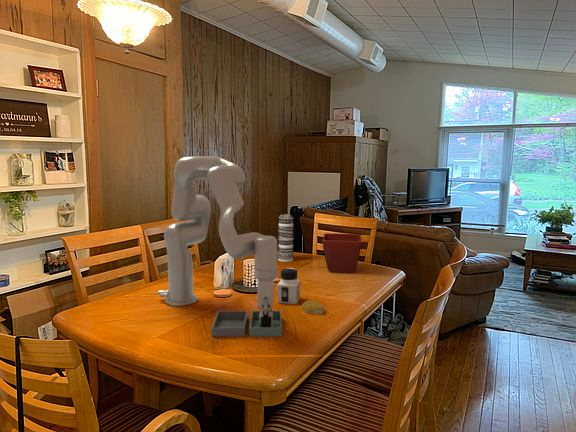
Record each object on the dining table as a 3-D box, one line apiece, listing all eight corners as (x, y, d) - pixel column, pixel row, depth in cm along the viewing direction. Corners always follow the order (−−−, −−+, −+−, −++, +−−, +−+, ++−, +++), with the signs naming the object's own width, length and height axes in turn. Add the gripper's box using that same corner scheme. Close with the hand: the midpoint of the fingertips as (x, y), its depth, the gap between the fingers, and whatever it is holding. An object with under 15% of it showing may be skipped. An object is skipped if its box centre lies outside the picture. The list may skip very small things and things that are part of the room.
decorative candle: (276, 261, 237) (276, 215, 233) (279, 257, 246) (279, 213, 242) (292, 262, 236) (292, 216, 232) (295, 258, 245) (295, 213, 241)
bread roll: (308, 317, 158) (308, 307, 158) (298, 309, 167) (298, 299, 166) (328, 314, 161) (328, 304, 161) (318, 306, 170) (318, 296, 169)
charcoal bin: (211, 338, 140) (211, 328, 139) (217, 320, 155) (217, 311, 154) (244, 338, 140) (244, 328, 140) (247, 320, 155) (247, 310, 154)
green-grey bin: (249, 338, 140) (249, 327, 140) (251, 320, 155) (251, 310, 154) (281, 338, 140) (281, 327, 140) (281, 320, 155) (281, 310, 155)
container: (296, 304, 171) (296, 272, 169) (277, 303, 173) (277, 271, 171) (300, 298, 179) (300, 267, 177) (281, 296, 180) (281, 266, 178)
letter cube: (259, 329, 145) (259, 316, 145) (259, 324, 150) (259, 311, 149) (272, 329, 145) (272, 316, 145) (272, 324, 150) (272, 311, 149)
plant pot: (323, 263, 232) (324, 232, 230) (360, 265, 230) (361, 233, 227) (321, 273, 214) (322, 240, 211) (361, 275, 211) (362, 241, 209)
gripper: (255, 266, 153) (256, 313, 156) (253, 280, 136) (254, 333, 139) (277, 266, 153) (277, 312, 156) (277, 280, 136) (277, 332, 139)
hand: (266, 322), depth 147 cm, fingers open, 9 cm apart
